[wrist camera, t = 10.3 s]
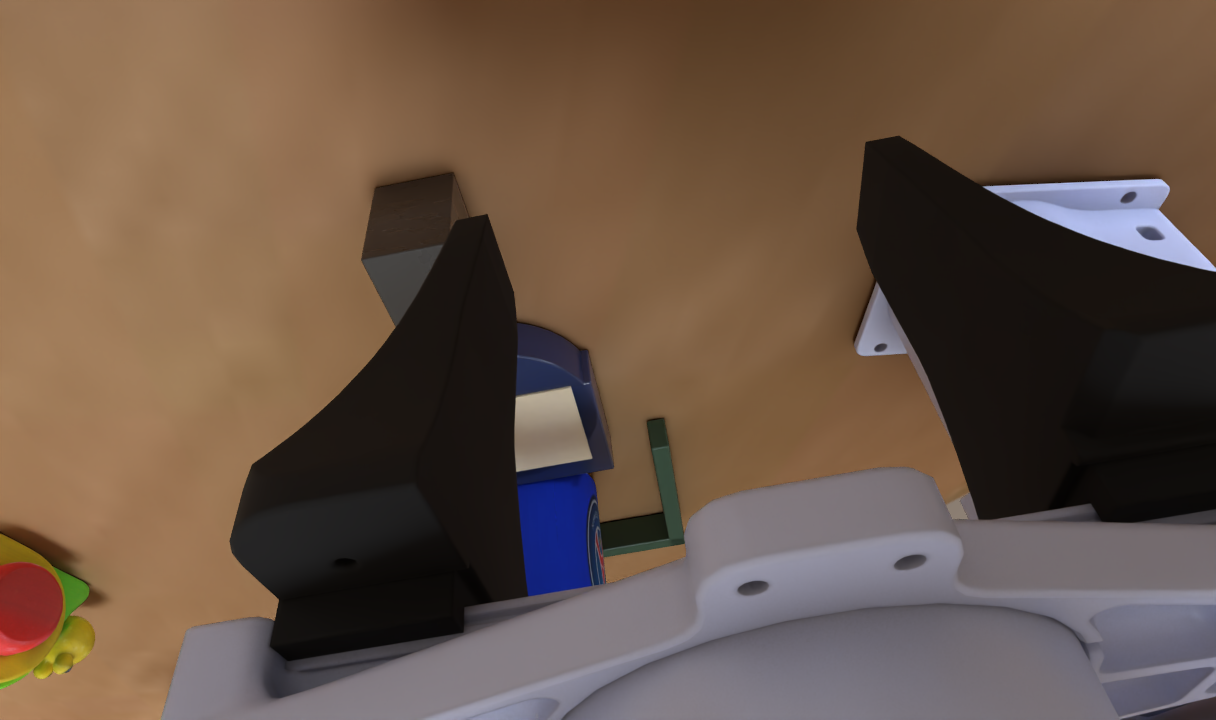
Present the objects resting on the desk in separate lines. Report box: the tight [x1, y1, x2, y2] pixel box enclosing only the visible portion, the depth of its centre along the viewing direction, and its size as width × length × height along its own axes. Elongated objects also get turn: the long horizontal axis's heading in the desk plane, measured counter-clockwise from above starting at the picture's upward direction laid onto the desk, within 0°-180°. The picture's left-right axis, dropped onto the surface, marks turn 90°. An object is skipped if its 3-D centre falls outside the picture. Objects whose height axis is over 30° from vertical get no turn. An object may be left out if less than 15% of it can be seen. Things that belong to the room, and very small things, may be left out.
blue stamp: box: [361, 173, 614, 485], centre depth 28 cm, size 15×8×4 cm, turn 9°
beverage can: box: [517, 473, 606, 597], centre depth 32 cm, size 5×5×15 cm
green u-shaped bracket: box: [600, 419, 685, 557], centre depth 37 cm, size 13×9×2 cm
